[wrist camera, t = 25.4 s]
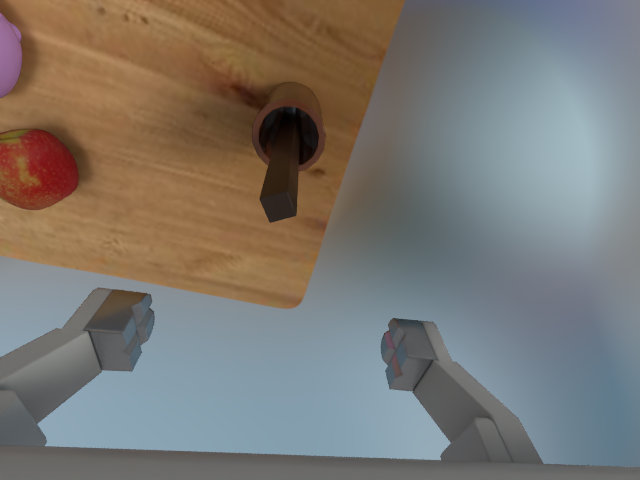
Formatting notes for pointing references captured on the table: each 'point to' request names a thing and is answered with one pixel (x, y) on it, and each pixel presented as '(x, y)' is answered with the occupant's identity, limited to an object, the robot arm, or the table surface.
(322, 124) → the crock
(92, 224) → the table surface
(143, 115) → the table surface
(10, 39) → the teapot
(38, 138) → the apple
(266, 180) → the stick
